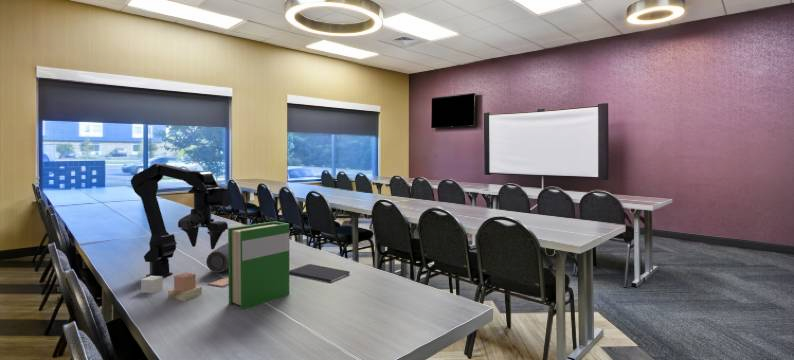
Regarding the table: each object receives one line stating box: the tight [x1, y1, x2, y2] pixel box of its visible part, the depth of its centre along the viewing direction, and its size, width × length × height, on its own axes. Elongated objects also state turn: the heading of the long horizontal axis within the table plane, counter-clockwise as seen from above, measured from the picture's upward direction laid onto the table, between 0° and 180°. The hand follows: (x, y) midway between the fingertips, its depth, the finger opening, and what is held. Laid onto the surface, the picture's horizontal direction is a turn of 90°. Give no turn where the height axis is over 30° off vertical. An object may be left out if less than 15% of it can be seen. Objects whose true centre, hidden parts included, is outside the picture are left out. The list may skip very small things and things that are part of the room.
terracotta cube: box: [173, 271, 197, 292], centre depth 137 cm, size 4×4×4 cm
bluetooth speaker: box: [205, 242, 229, 273], centre depth 172 cm, size 23×9×10 cm, turn 179°
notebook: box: [289, 263, 351, 283], centre depth 165 cm, size 13×2×21 cm
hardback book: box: [227, 221, 290, 311], centre depth 135 cm, size 18×7×24 cm, turn 143°
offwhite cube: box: [140, 276, 164, 294], centre depth 142 cm, size 4×4×4 cm
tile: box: [207, 278, 229, 288], centre depth 151 cm, size 7×7×1 cm
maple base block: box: [167, 285, 203, 302], centre depth 138 cm, size 7×7×3 cm
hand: (203, 247), depth 154 cm, fingers open, 9 cm apart
